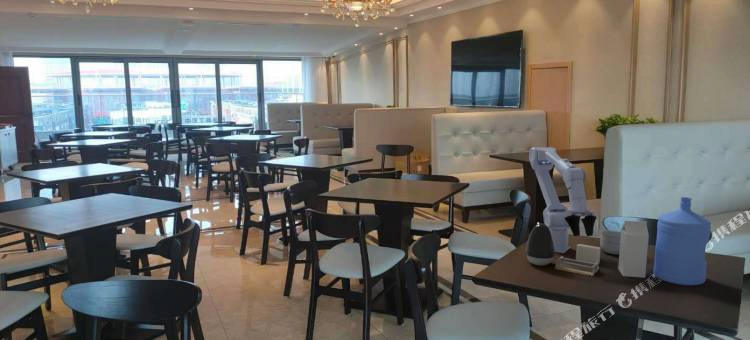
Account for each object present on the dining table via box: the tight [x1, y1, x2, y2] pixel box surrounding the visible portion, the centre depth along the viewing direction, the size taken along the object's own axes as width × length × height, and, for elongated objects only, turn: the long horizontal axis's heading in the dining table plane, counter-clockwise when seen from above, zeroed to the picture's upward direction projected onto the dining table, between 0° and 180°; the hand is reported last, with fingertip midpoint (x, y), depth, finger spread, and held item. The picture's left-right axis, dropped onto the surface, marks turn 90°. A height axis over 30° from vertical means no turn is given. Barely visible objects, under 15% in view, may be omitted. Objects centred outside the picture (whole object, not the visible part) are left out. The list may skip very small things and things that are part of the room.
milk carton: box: [617, 220, 649, 279], centre depth 186 cm, size 7×7×19 cm
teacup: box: [599, 230, 621, 256], centre depth 210 cm, size 14×11×8 cm
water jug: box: [652, 196, 712, 286], centre depth 181 cm, size 16×16×28 cm
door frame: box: [554, 256, 600, 277], centre depth 192 cm, size 9×13×3 cm
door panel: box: [575, 243, 602, 265], centre depth 200 cm, size 2×8×6 cm, turn 54°
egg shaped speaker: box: [525, 222, 556, 267], centre depth 197 cm, size 10×10×15 cm
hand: (583, 235), depth 196 cm, fingers open, 7 cm apart
